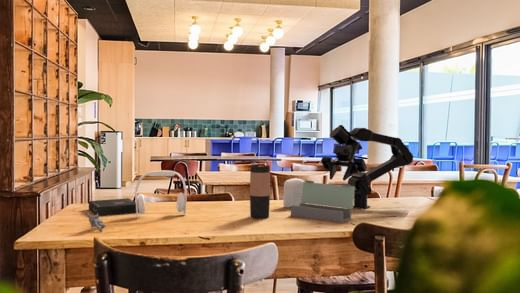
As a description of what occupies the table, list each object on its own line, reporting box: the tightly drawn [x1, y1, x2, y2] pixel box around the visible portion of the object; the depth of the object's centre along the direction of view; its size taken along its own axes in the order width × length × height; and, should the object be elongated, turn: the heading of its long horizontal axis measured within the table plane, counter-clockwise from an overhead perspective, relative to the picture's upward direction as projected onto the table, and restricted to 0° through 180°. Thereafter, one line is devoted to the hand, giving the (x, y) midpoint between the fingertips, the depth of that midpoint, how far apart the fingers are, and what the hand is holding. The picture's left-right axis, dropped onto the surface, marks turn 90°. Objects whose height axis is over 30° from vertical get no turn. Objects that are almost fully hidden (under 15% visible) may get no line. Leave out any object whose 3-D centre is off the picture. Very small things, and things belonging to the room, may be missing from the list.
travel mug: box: [249, 164, 271, 220], centre depth 184 cm, size 8×8×20 cm
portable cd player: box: [88, 197, 140, 217], centre depth 195 cm, size 16×17×4 cm
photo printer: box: [283, 177, 306, 208], centre depth 209 cm, size 10×4×12 cm, turn 123°
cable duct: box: [290, 203, 352, 224], centre depth 185 cm, size 8×22×4 cm, turn 55°
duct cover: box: [301, 180, 355, 210], centre depth 188 cm, size 9×22×2 cm
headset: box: [134, 169, 188, 220], centre depth 184 cm, size 20×7×18 cm, turn 109°
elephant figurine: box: [84, 210, 107, 233], centre depth 160 cm, size 10×6×9 cm
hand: (336, 179), depth 195 cm, fingers open, 6 cm apart
